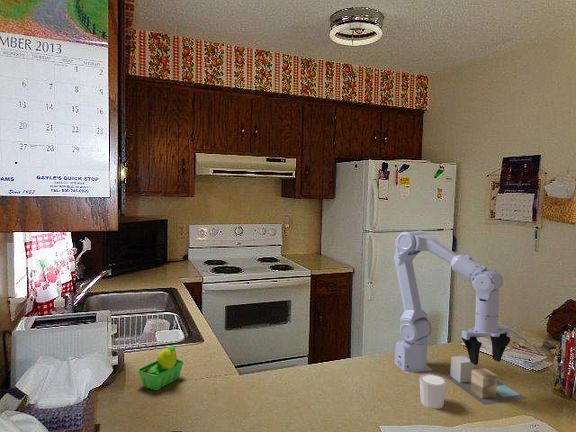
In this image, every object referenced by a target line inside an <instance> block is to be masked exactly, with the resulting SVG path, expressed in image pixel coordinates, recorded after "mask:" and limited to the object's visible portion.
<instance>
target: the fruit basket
mask: <svg viewBox="0 0 576 432" xmlns="http://www.w3.org/2000/svg"><path fill="white" fill-rule="evenodd" d="M176 351H177V350H176V347H174V346H172V345H169V346H167V347H166V348H165V349H163V350H162V351H160V352H159V353H158V354H157V356H156V360H155V361H153V362H151V363H149V364H147V365H144V366H142V367H140V368H138V369H137V372H138V374H139V376H140V380H141V383H142V386H143V387H144V388H147V389H149V388H150V389H149V390H153V389H154V391H155V390H157V391H159V390H160V389H162V388H164V387H165V385H166V386H167V385H169V384H170V383H172V382H174V381H176V380H178V379H179V378H180V374H181V371H182V367H183V365H184V363H185V361H184V360H181V359H178V358H177V357H178V356H177V352H176ZM161 387H162V388H161Z"/></svg>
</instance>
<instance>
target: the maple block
mask: <svg viewBox="0 0 576 432" xmlns="http://www.w3.org/2000/svg"><path fill="white" fill-rule="evenodd" d="M497 380H498V375H497V374H496V373H494V372H492V371H490V370H488V369H487V368H486V367H485V368H478V369H475V368H474V370H472V375H471V391H472V392H474V393H475V394H477V395H478V396H479V397H481V398H482V399H483V398H490V397H496V388H497Z"/></svg>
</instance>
